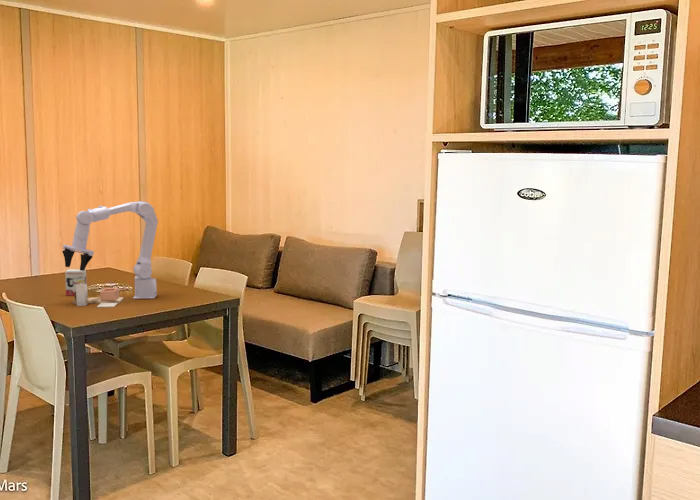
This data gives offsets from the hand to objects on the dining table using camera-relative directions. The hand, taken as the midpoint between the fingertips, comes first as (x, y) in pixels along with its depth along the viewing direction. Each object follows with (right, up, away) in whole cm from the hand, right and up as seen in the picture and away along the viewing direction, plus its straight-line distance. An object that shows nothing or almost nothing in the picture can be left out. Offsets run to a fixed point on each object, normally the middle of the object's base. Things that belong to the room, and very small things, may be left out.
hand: (74, 268), depth 287 cm
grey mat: (+15, -16, -1) cm, 22 cm away
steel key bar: (+4, -16, -1) cm, 16 cm away
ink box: (-8, -13, +21) cm, 26 cm away
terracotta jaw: (+13, -14, +7) cm, 20 cm away
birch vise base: (+8, -15, +7) cm, 18 cm away
